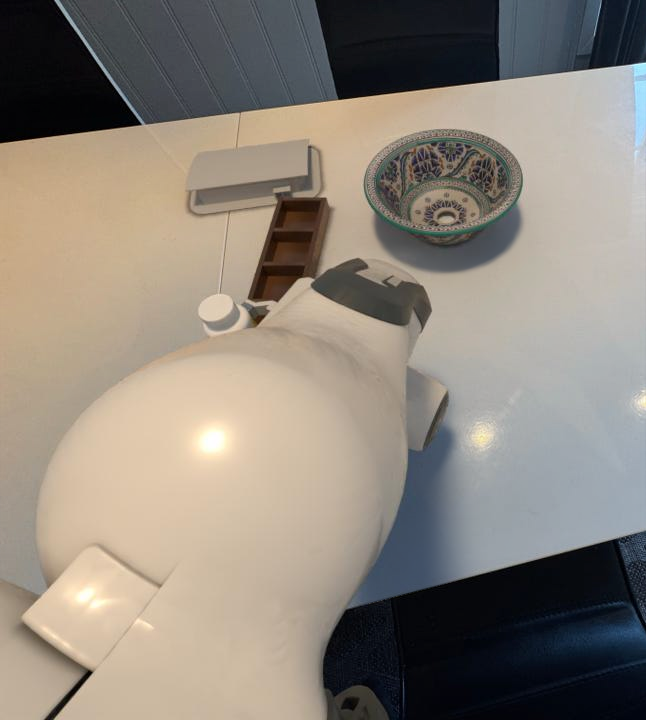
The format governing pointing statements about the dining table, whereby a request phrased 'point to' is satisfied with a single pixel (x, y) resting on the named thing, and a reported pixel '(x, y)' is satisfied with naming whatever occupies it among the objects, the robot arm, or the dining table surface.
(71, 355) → the dining table surface
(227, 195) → the grey hinged lid tray
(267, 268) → the rack
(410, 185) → the bowl
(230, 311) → the supplement bottle
